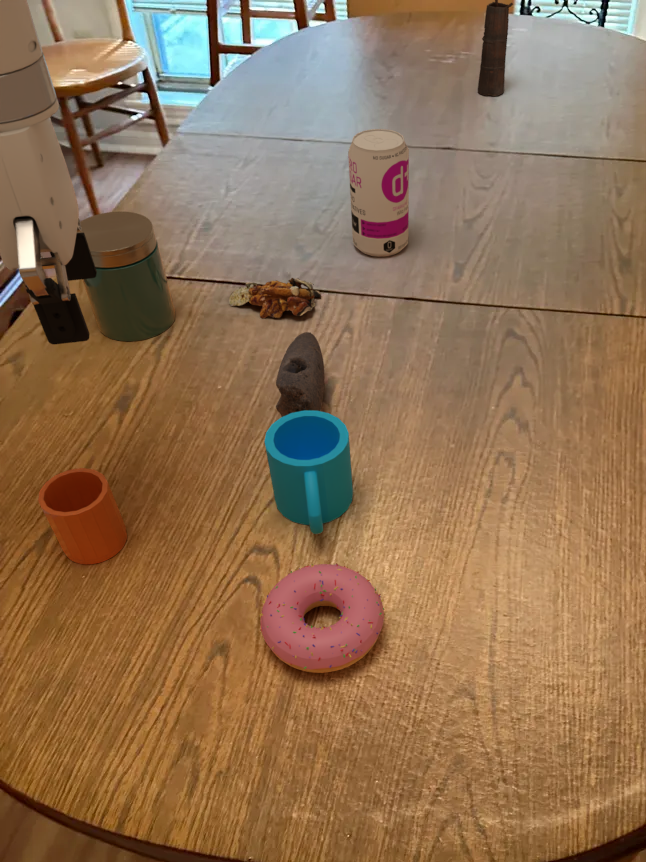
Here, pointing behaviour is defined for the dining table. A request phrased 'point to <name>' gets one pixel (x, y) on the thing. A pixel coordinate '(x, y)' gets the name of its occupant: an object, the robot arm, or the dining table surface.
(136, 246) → the jar lid
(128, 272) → the jar
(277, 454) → the mug
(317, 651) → the doughnut
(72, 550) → the cup
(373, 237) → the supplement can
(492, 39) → the butter churn
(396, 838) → the dining table surface
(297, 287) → the brown lumpy piece
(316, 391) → the perforated stone tool
